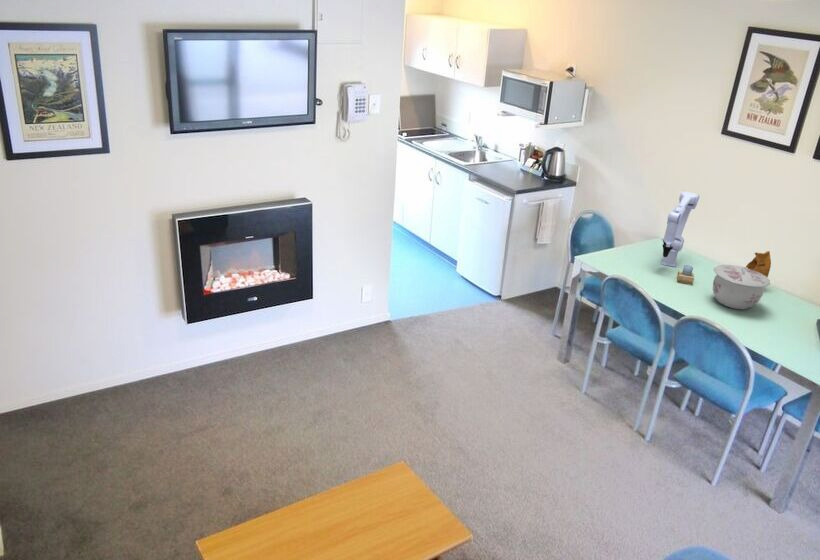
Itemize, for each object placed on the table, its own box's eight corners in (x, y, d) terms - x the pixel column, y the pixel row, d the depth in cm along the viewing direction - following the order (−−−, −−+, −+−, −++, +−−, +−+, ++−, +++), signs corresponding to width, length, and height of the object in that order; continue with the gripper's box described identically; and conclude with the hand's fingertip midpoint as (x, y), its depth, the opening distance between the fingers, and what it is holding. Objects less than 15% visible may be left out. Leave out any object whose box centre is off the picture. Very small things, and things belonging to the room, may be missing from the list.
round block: (682, 271, 379) (684, 264, 378) (691, 273, 378) (693, 266, 376) (681, 274, 375) (683, 267, 373) (691, 276, 373) (693, 269, 372)
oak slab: (677, 274, 382) (678, 270, 381) (692, 277, 380) (693, 273, 379) (678, 279, 375) (679, 275, 374) (693, 282, 373) (694, 278, 372)
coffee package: (735, 285, 379) (747, 249, 370) (751, 283, 384) (763, 247, 375) (749, 292, 371) (761, 256, 362) (766, 290, 376) (778, 254, 366)
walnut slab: (676, 278, 383) (677, 274, 382) (691, 281, 381) (692, 277, 380) (676, 283, 376) (677, 279, 375) (691, 286, 374) (692, 282, 373)
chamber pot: (728, 317, 340) (740, 280, 331) (694, 293, 364) (704, 258, 355) (773, 314, 348) (786, 278, 339) (737, 291, 371) (748, 257, 363)
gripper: (663, 227, 387) (658, 249, 392) (663, 235, 374) (657, 257, 380) (676, 229, 385) (670, 251, 390) (676, 237, 372) (670, 259, 378)
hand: (665, 254), depth 385 cm, fingers open, 7 cm apart
